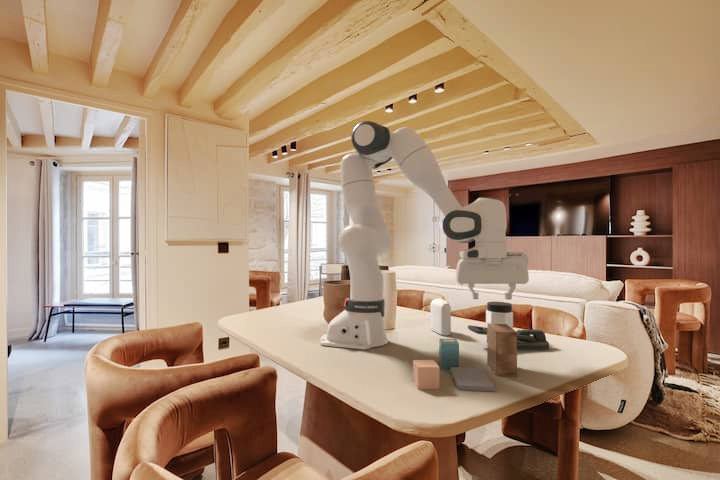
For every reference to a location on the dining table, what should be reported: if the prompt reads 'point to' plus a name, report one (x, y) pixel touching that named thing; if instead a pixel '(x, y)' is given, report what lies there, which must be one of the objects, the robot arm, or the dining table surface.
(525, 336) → the zipper pull
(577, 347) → the dining table surface
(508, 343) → the block
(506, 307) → the jar
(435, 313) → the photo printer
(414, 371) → the block
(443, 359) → the block
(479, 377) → the felt pad
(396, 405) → the dining table surface
